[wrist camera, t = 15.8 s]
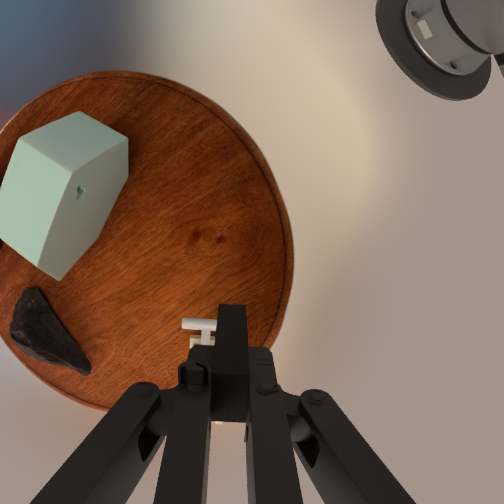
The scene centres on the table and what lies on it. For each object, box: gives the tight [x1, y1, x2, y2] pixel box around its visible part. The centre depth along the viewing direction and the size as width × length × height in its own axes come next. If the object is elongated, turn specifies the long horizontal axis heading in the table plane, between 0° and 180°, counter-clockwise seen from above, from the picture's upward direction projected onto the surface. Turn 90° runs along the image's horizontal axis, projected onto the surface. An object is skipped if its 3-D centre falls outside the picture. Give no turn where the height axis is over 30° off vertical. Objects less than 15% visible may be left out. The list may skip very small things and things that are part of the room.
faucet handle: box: [182, 317, 217, 345], centre depth 38 cm, size 12×6×2 cm, turn 176°
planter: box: [0, 111, 129, 281], centre depth 33 cm, size 17×8×21 cm
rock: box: [9, 287, 93, 376], centre depth 42 cm, size 7×18×9 cm, turn 31°
